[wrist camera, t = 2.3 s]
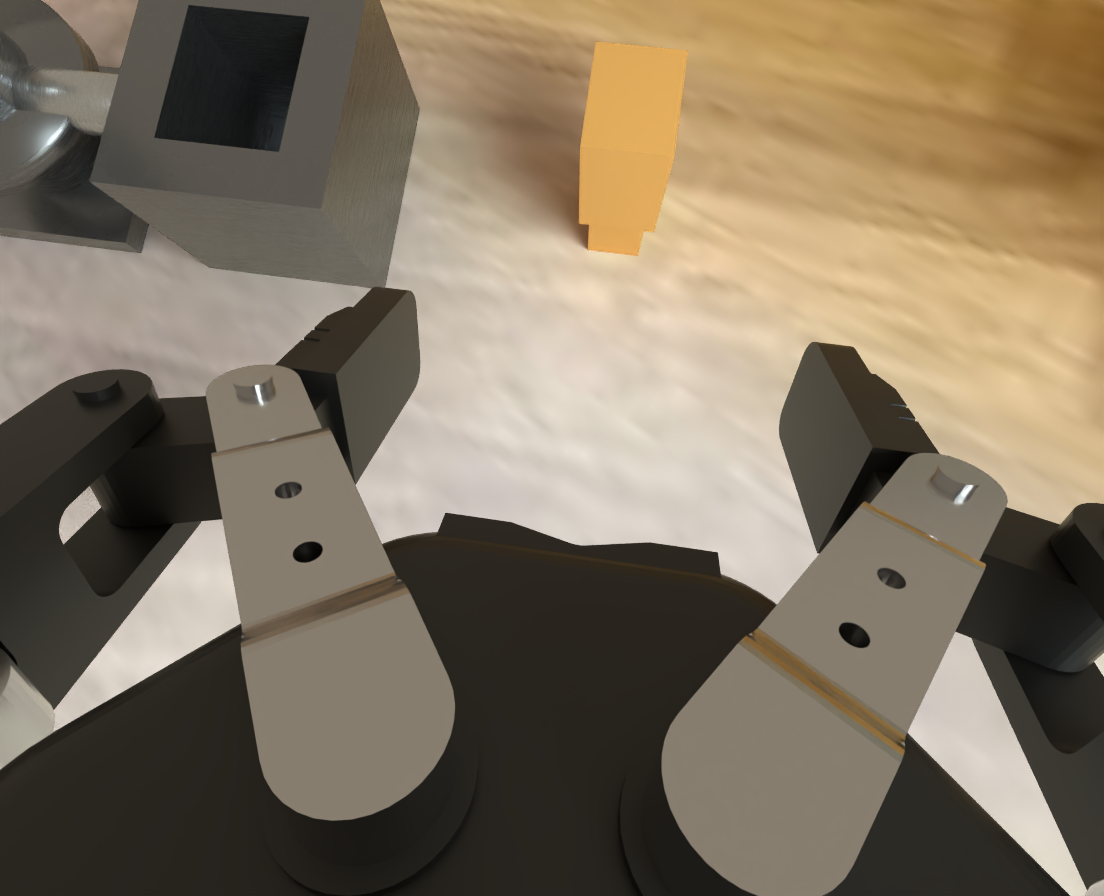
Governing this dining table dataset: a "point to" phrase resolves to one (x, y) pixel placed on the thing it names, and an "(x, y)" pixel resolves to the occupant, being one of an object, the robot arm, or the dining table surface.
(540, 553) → the robot arm
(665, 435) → the dining table surface
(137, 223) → the bracket post
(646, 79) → the orange block
